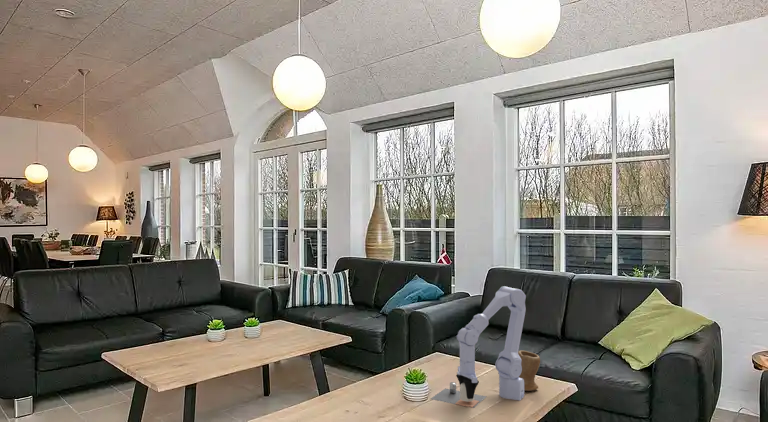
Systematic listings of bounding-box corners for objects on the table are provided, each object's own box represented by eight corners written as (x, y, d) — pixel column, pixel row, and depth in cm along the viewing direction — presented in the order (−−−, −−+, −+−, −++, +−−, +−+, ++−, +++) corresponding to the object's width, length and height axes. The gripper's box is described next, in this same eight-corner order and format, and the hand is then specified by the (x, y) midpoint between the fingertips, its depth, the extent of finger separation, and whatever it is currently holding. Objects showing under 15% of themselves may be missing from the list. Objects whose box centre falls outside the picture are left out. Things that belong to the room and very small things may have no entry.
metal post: (457, 392, 206) (457, 382, 206) (454, 394, 204) (454, 384, 204) (451, 391, 207) (451, 381, 207) (448, 393, 205) (448, 383, 205)
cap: (475, 400, 193) (475, 385, 193) (463, 401, 192) (463, 386, 192) (470, 396, 198) (470, 381, 198) (458, 397, 197) (458, 382, 197)
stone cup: (546, 390, 212) (546, 354, 212) (521, 394, 208) (521, 357, 208) (524, 379, 226) (524, 345, 226) (501, 382, 222) (501, 348, 222)
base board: (486, 399, 202) (486, 396, 202) (473, 411, 190) (473, 408, 190) (445, 391, 211) (445, 388, 211) (430, 401, 199) (430, 398, 199)
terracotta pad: (479, 401, 196) (479, 401, 196) (472, 407, 190) (472, 406, 190) (462, 398, 200) (462, 397, 200) (455, 404, 194) (455, 403, 194)
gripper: (450, 355, 201) (450, 390, 201) (464, 366, 187) (464, 403, 187) (467, 354, 203) (467, 388, 203) (482, 365, 189) (482, 401, 189)
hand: (467, 395), depth 195 cm, fingers closed on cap, 5 cm apart
